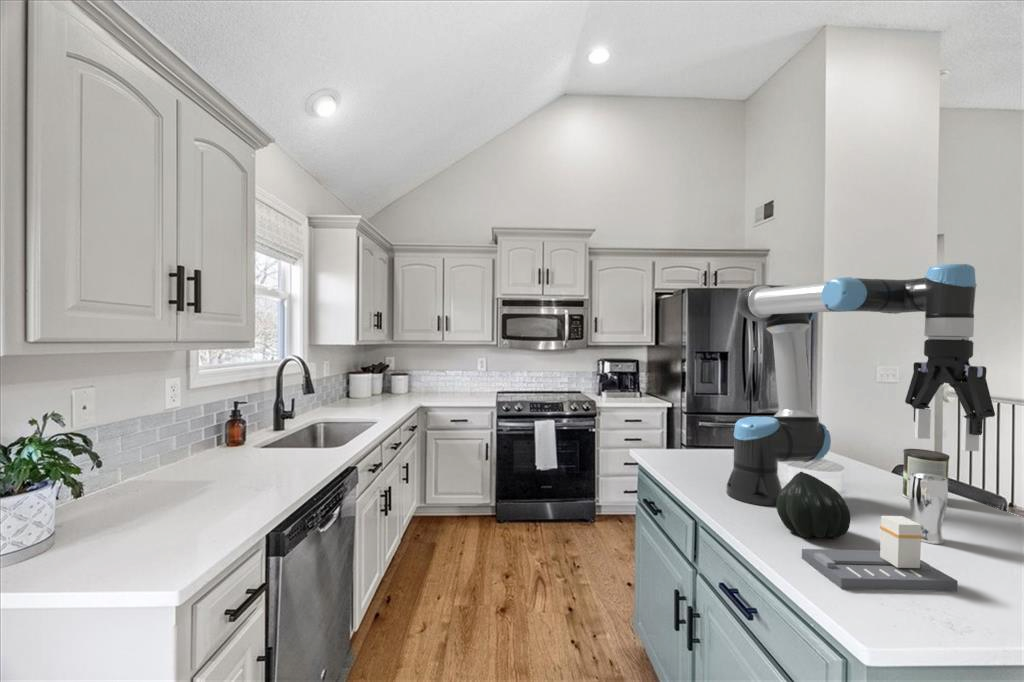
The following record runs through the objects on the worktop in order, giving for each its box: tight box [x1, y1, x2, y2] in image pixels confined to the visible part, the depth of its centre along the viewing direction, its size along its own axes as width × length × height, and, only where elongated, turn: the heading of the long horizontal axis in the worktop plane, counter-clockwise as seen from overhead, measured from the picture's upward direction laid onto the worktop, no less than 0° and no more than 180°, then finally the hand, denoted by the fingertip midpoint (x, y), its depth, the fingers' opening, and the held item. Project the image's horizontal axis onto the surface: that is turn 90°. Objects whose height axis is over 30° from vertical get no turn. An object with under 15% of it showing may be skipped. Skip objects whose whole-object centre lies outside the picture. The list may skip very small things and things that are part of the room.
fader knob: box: [879, 515, 922, 568], centre depth 93 cm, size 5×5×9 cm
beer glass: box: [908, 473, 949, 545], centre depth 111 cm, size 7×7×15 cm
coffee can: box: [901, 448, 951, 505], centre depth 138 cm, size 10×10×14 cm
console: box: [801, 548, 959, 592], centre depth 94 cm, size 22×12×3 cm, turn 90°
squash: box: [775, 471, 852, 539], centre depth 113 cm, size 14×15×15 cm
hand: (944, 444), depth 97 cm, fingers open, 10 cm apart
